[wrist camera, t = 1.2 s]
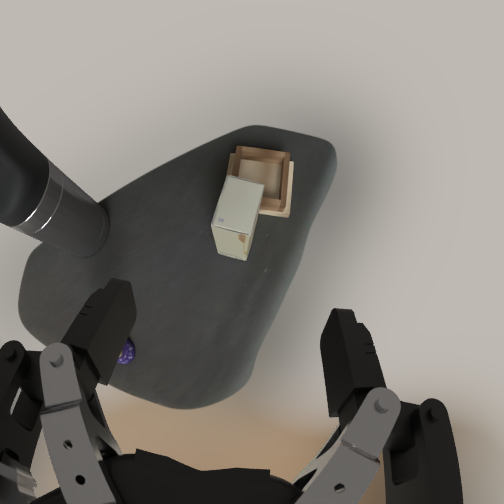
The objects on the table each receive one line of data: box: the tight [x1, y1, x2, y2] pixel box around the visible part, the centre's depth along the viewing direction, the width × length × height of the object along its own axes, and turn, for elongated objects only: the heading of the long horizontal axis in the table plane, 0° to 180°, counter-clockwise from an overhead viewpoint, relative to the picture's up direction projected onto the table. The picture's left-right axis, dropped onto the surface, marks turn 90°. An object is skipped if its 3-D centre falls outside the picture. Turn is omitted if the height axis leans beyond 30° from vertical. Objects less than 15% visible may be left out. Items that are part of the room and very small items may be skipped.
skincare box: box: [211, 175, 264, 261], centre depth 33 cm, size 6×4×12 cm
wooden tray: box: [226, 146, 294, 218], centre depth 39 cm, size 10×9×4 cm
